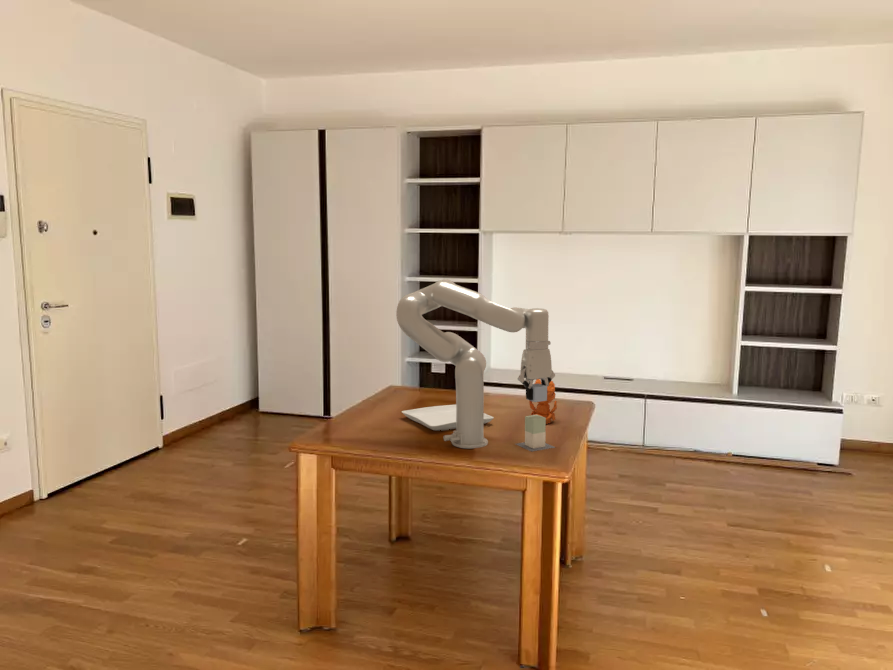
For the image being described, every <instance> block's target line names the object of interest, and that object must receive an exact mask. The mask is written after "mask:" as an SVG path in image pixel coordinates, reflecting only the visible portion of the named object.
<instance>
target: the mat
mask: <svg viewBox="0 0 893 670" xmlns="http://www.w3.org/2000/svg"><path fill="white" fill-rule="evenodd" d="M515 445H516V446H519V447H521V448H523V449H525V450H527V451H529V452H532V453H533V452H537V451H543V450H548V449H555V448H556V446H553V445H552V444H549V443H546V442H545V447H539V448H531V447H529V446H527V445H525V441H523V442H517V443H515Z"/></svg>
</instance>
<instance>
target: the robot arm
mask: <svg viewBox="0 0 893 670" xmlns="http://www.w3.org/2000/svg"><path fill="white" fill-rule="evenodd" d="M440 307H444V308H447V309H449V310H452V311H455V312H457V313H460V314H463V315H466V316H468V317H470V318H472V319H475V320H477V321H478V322H479V321H480V322H482V323H485V324H487V325H489V326H492V327H494V328H497V329H500V330H501V331H505V332H508V333H518V332H520V331H521V330H522V329H525V349H523V350H522V351H523V352H522V355H521V361H520V374H519V375H518V377H517V381H519V383H521V384H522V385H523V386H524V388H525V399H526V400H527V399H529V400H533V388H532V384H534V380H535V381H536V379H540V380H541V384H542V385H545V386H547V387H548V386H549V383H550V382H551V381H553V379H554V378H555V377H556V373H555V372H554V371H553V368H552V367H553V366H552V357H551V356H552V354H551V351H550V348H549V345H551V341H550V340H549V317H550V316H549V311H548V310H547V309H545V308H538V307H537V308H522V307H514V306H513V307H511V308H509V307H507V306H504V305H502V304H498V303H497V302H494V301H492V300H490V299H489V298H488V297H486V296H485V295H483V294H482V293H480V292H478V291H475V290H472V289H470V288H467V287H464V286H461V285H458V284H456V283H455V282H454V281H453V280H450V279H445V278H444V279H441V280H437V281H436V282H435V283H432V284H430V285H428V286H426V287H422V288H420V289H418V290H416V291H414V292H410V293H407V294H406V295H404V296H403V297H401V299H400V300H399V301H398V303H397V306H396V311H395V312H396V321H397V324H398V326H399V328H400V330H401V331H402V333H404V335H406V336H407V337H408V338H409V339H411V340H412V341H413V342H415V343H416V344H417V345H419V346H420V347H421V349H423V350H425V351H426V352H428V354H430V355H431V356H432V357H434V358H435V359H436V360H438V361H439V362H442V363H449V362H450V363H451V364H452V365H454V366H455V369H454V379H455V404H456V429H455V430H453V431H452V432H453V433H451V434H445V435H443V436H442V437H443V441H444V442H448V441H450V443H451V444H452V446H453V447H456V448H460V449H468V450H469V449H479V448H484V447H486V446H487V445H488V444H489V440H488V439H487V438H485V436H484V424H485V423H484V413H485V411H484V410H485V409H484V407H485V405H484V403H485V402H484V401H485V397H484V396H485V395H484V394H485V393H484V390H485V388H484V373H485V370H486V367H487V360H486V357H485V355H484V354H483V353H482V352H481V351H480V350H478V349H477V348H476V347H474V345H472V344H471V343H469V342H468V341H467V340H465V339H464V338H462V337H461V336H459V334H458V333H457V334H456V332H455V333H454V332H451V331H446V332H444V331H442V330H441V329H439V328H438V327H437V326H435V325H434V323H431V322H429V321H428V320H426V319H425V318H424V316H423V315H424V314H427V313H429V312H431V311H434V310H436V309H438V308H440ZM529 400H528V401H529Z"/></svg>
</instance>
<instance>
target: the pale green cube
mask: <svg viewBox="0 0 893 670" xmlns="http://www.w3.org/2000/svg"><path fill="white" fill-rule="evenodd" d="M546 425H547V424H546V418H545V417H542V416H539V415H531V414H530V415H525V416H524V432H525V431H527V432H530V433H532V434H537V433H543V432H546Z"/></svg>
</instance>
